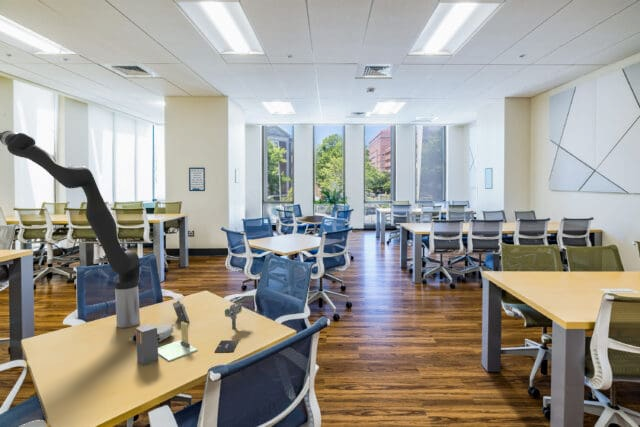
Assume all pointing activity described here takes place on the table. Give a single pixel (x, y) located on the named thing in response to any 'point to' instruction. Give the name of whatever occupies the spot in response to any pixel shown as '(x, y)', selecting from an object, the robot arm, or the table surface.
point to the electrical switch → (180, 311)
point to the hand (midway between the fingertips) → (3, 135)
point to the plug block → (147, 344)
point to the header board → (177, 346)
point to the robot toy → (160, 332)
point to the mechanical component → (233, 313)
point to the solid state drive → (226, 346)
